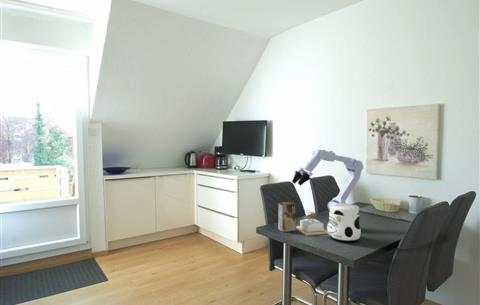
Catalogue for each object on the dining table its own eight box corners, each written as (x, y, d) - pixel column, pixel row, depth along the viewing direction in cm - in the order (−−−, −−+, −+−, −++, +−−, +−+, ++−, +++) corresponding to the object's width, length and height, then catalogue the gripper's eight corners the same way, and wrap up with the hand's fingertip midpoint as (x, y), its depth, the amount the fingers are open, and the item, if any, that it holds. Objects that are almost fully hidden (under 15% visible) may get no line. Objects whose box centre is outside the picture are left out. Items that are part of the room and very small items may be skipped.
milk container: (321, 238, 168) (321, 205, 167) (336, 231, 180) (337, 201, 179) (351, 246, 156) (352, 211, 155) (365, 238, 168) (366, 206, 167)
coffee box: (291, 227, 187) (292, 201, 187) (296, 230, 181) (296, 204, 181) (277, 228, 185) (278, 202, 184) (282, 232, 179) (282, 204, 178)
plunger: (313, 220, 187) (314, 211, 187) (320, 224, 180) (320, 214, 180) (303, 221, 185) (303, 212, 185) (309, 224, 178) (309, 214, 178)
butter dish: (316, 225, 194) (316, 217, 193) (331, 233, 177) (331, 224, 177) (292, 227, 189) (293, 219, 189) (306, 235, 173) (306, 226, 173)
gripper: (299, 160, 188) (286, 177, 186) (311, 162, 174) (297, 180, 172) (307, 168, 189) (294, 185, 187) (319, 170, 176) (305, 188, 173)
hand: (296, 183), depth 180 cm, fingers open, 7 cm apart
